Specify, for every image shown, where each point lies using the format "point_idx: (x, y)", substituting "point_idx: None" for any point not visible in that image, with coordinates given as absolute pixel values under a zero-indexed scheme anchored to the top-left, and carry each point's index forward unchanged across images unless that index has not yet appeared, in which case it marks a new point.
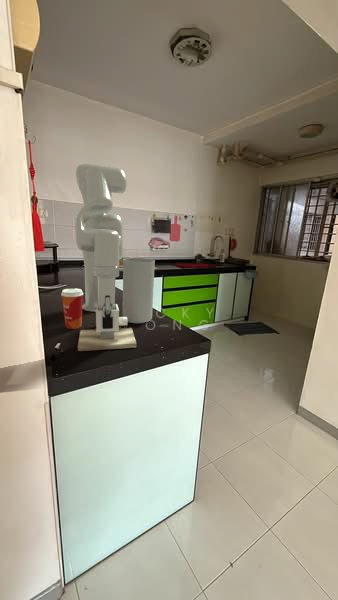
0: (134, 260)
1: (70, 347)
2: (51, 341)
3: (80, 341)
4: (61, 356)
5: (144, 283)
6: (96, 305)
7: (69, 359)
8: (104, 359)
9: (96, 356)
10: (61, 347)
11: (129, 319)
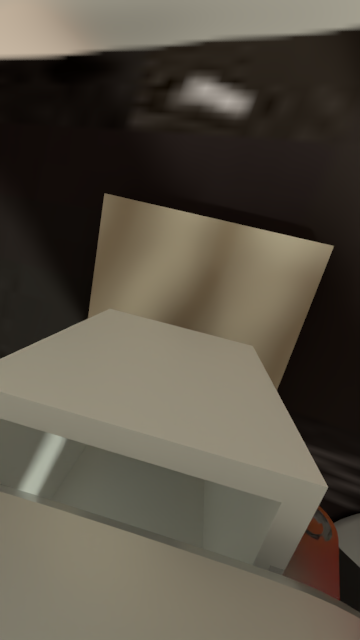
0: None
1: (166, 167)
2: (289, 51)
3: (162, 217)
4: (84, 112)
5: None
6: (257, 470)
7: (48, 151)
8: (20, 295)
9: (49, 271)
10: (182, 116)
11: (354, 534)
